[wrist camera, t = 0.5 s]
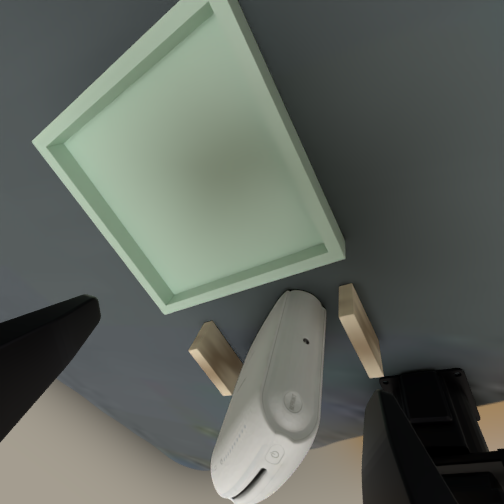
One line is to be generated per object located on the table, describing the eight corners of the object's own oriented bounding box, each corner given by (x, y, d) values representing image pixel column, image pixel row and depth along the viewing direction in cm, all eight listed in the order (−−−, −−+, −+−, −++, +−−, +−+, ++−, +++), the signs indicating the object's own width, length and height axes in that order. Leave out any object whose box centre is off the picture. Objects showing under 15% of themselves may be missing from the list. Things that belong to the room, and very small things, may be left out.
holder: (378, 340, 24) (383, 376, 21) (235, 365, 30) (223, 396, 27) (351, 283, 22) (353, 313, 19) (204, 322, 28) (188, 350, 25)
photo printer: (285, 279, 23) (241, 435, 13) (334, 302, 23) (329, 479, 13) (243, 352, 29) (188, 503, 18) (282, 372, 29) (249, 534, 18)
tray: (345, 240, 20) (345, 258, 18) (178, 297, 27) (164, 314, 25) (230, -15, 15) (212, -31, 13) (60, 136, 22) (31, 141, 20)
